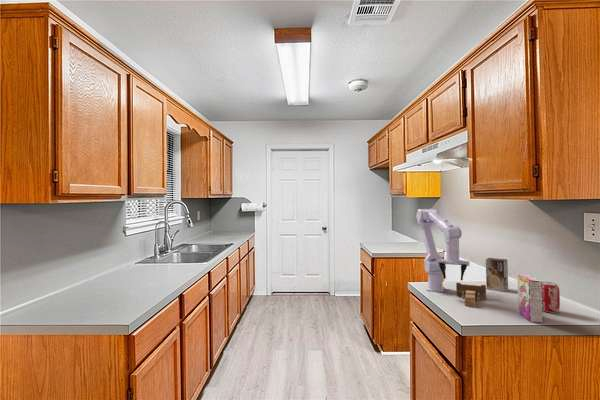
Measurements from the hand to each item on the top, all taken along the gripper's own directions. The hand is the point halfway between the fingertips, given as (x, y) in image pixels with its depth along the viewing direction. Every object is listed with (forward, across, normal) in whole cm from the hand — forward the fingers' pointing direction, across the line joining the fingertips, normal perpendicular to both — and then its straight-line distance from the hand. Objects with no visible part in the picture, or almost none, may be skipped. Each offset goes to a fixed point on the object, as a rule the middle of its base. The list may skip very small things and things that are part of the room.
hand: (453, 279), depth 170 cm
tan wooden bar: (+9, +8, -4) cm, 13 cm away
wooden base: (+9, +8, +3) cm, 12 cm away
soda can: (+9, +38, -5) cm, 39 cm away
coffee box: (+10, +19, +27) cm, 34 cm away
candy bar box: (+9, +30, -18) cm, 36 cm away
